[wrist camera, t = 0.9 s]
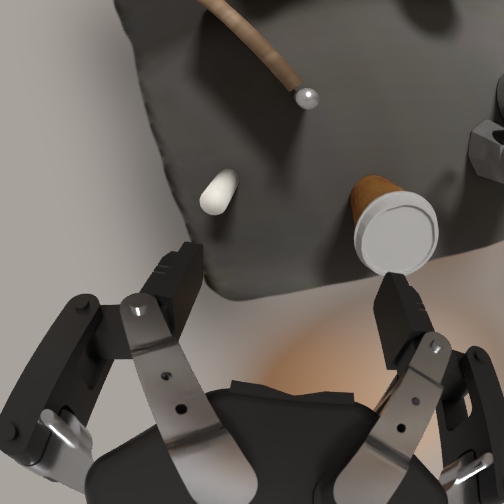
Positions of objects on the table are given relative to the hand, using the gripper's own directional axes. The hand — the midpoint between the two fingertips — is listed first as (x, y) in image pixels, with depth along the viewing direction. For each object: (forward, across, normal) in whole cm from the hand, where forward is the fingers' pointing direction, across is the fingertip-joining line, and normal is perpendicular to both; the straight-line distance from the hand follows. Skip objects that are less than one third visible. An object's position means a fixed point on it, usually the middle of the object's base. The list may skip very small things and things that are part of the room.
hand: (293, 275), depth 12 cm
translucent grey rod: (+26, 0, -7) cm, 27 cm away
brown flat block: (+25, +6, -13) cm, 29 cm away
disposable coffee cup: (+26, -11, +4) cm, 29 cm away
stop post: (+26, +8, +5) cm, 27 cm away
